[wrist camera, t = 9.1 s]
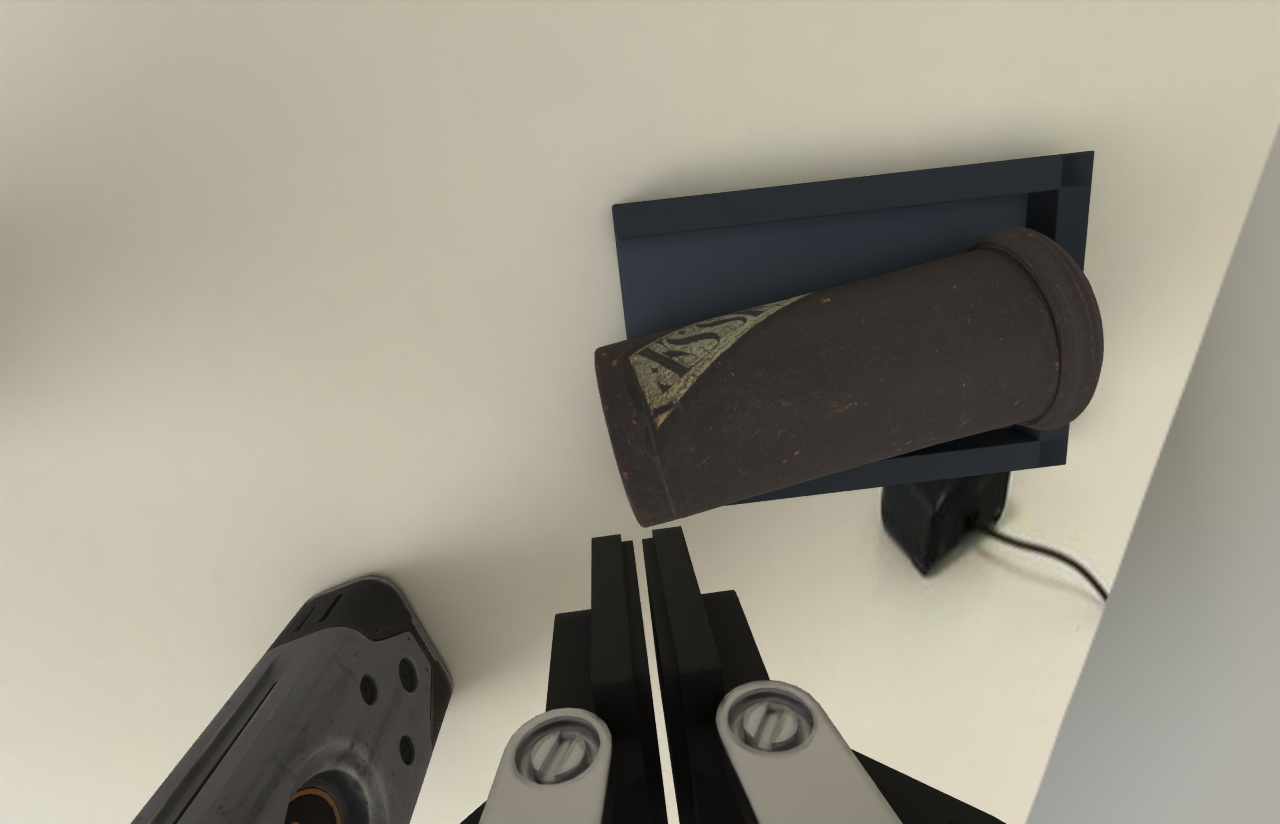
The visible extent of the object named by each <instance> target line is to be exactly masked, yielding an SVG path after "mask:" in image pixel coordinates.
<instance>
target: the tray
mask: <svg viewBox="0 0 1280 824" xmlns="http://www.w3.org/2000/svg"><path fill="white" fill-rule="evenodd" d="M1093 160H1094V151H1085V152H1076V153H1068V154H1059V155H1050V156H1041V157H1032V158H1023V159H1014V160H1005V161H997V162H988V163H979V164H970V165H961V166H952V167H943V168H934V169H926V170H917V171H908V172H899V173H890V174H881V175H872V176H863V177H855V178H846V179H837V180H828V181H819V182H810V183H801V184H792V185H784V186H775V187H766V188H757V189H748V190H739V191H730V192H721V193H713V194H704V195H695V196H686V197H677V198H668V199H659V200H650V201H642V202H633V203H624V204H615V205H613V206H612V212H613V221H614V230H615V238H616V247H617V256H618V264H619V273H620V282H621V290H622V299H623V308H624V316H625V325H626V334H627V340H630V339H633V338H637V337H641V336H645V335H649V334H653V333H656V332H660V331H664V330H667V329H672V328H676V327H680V326H684V325H687V324H691V323H695V322H700V321H704V320H707V319H711V318H715V317H719V316H722V315H726V314H729V313H734V312H738V311H742V310H745V309H750V308H754V307H758V306H762V305H766V304H770V303H774V302H778V301H782V300H785V299H789V298H793V297H797V296H800V295H804V294H808V293H812V292H816V291H819V290H824V289H827V288H832V287H837V286H841V285H844V284H848V283H852V282H855V281H859V280H864V279H868V278H872V277H876V276H879V275H883V274H887V273H890V272H894V271H898V270H902V269H906V268H909V267H913V266H917V265H920V264H923V263H927V262H931V261H935V260H939V259H943V258H946V257H951V256H955V255H959V254H962V253H966V252H967V250H969V249H970V248H971V247H972V246H974V245H975V244H976V243H977V242H978V241H979V240H980V239H981V238H982V237H984V236H985V235H987V234H989V233H991V232H993V231H995V230H998V229H1002V228H1010V227H1023V228H1028V229H1031V230H1034V231H1037V232H1039V233H1041V234H1043V235H1045V236H1047V237H1048V238H1050V239H1052V240H1053V241H1054V242H1055V243H1057V244H1058V245H1059V246H1060V247H1061V248H1062V249H1063V250H1065V251H1066V252H1067V253H1068V254H1069V255H1070V256H1071V257H1072V258H1073V259H1074V261H1075V262H1076V263H1077V264H1078V266H1079V267H1080V269H1081V270H1082V271H1083V270H1084V259H1085V248H1086V237H1087V226H1088V215H1089V204H1090V193H1091V182H1092V171H1093ZM1068 434H1069V423H1068V424H1066V425H1064V426H1062V427H1059V428H1056V429H1050V430H1037V429H1032V428H1029V427H1026V426H1020V425H1017V424H1013V425H1009V426H1005V427H1002V428H998V429H994V430H990V431H986V432H982V433H978V434H975V435H971V436H967V437H963V438H959V439H956V440H952V441H948V442H944V443H940V444H936V445H932V446H929V447H926V448H922V449H918V450H915V451H912V452H909V453H905V454H902V455H898V456H895V457H891V458H887V459H884V460H880V461H877V462H873V463H869V464H865V465H862V466H859V467H855V468H851V469H848V470H845V471H841V472H837V473H833V474H830V475H827V476H823V477H820V478H817V479H813V480H809V481H806V482H803V483H799V484H796V485H792V486H789V487H785V488H782V489H778V490H775V491H772V492H768V493H765V494H761V495H758V496H754V497H750V498H747V499H744V500H740V501H737V502H734V503H731V504H727V505H735V504H743V503H752V502H760V501H768V500H776V499H785V498H793V497H801V496H809V495H818V494H826V493H834V492H842V491H851V490H859V489H867V488H875V487H884V486H892V485H900V484H908V483H917V482H925V481H933V480H941V479H950V478H958V477H966V476H974V475H983V474H991V473H999V472H1007V471H1016V470H1024V469H1032V468H1040V467H1049V466H1057V465H1065V464H1066V456H1067V445H1068ZM727 505H724V506H727Z"/></svg>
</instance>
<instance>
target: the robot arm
mask: <svg viewBox="0 0 1280 824" xmlns="http://www.w3.org/2000/svg"><path fill="white" fill-rule="evenodd" d="M652 534H653V538H647V539H642V544H643V553H644V561H645V569H646V578H647V586H648V595H649V603H650V611H651V620H652V628H653V636H654V645H655V653H656V661H657V669H658V677H659V684H660V691H661V698H662V705H663V712H664V719H665V726H666V732H667V739H668V746H669V753H670V760H671V767H672V774H673V781H674V788H675V795H676V802H677V809H678V815H679V822H680V824H1006V823H1004V822H1002V821H1001V820H999V819H997V818H996V817H994V816H992V815H990V814H987V813H985V812H983V811H981V810H979V809H977V808H975V807H973V806H971V805H968V804H966V803H964V802H962V801H960V800H958V799H956V798H954V797H952V796H949V795H947V794H945V793H943V792H941V791H939V790H937V789H935V788H932V787H930V786H928V785H926V784H924V783H922V782H920V781H918V780H916V779H913V778H911V777H909V776H907V775H905V774H903V773H901V772H899V771H897V770H894V769H892V768H890V767H888V766H886V765H884V764H882V763H880V762H877V761H875V760H873V759H871V758H869V757H867V756H865V755H863V754H861V753H858V752H856V751H854V750H852V749H850V747H849V746H848V744H847V743H846V742H845V740H844V739H843V737H842V736H841V734H840V733H839V731H838V730H837V729H836V727H835V726H834V724H833V723H832V721H831V720H830V719H829V717H828V716H827V714H826V713H825V711H824V710H823V708H822V707H821V706H820V704H819V703H818V702H817V701H816V700H815V699H814V698H813V697H812V696H811V695H810V694H809V693H807V692H806V691H804V690H802V689H800V688H799V687H797V686H795V685H791V684H788V683H785V682H782V681H772V680H770V679H769V676H768V674H767V671H766V669H765V666H764V663H763V661H762V658H761V656H760V653H759V651H758V648H757V645H756V643H755V640H754V638H753V635H752V632H751V630H750V627H749V625H748V622H747V620H746V617H745V614H744V612H743V609H742V607H741V604H740V601H739V599H738V596H737V594H736V592H735V591H734V590H729V591H721V592H714V593H707V594H701V593H700V589H699V586H698V583H697V579H696V576H695V572H694V569H693V565H692V562H691V559H690V555H689V552H688V548H687V545H686V541H685V538H684V534H683V531H682V528H681V526H679V527H671V528H664V529H656V530H652ZM460 824H668V819H667V811H666V803H665V795H664V786H663V778H662V770H661V762H660V754H659V746H658V738H657V730H656V722H655V714H654V706H653V698H652V690H651V682H650V674H649V666H648V658H647V650H646V642H645V634H644V626H643V618H642V610H641V602H640V594H639V586H638V578H637V570H636V562H635V555H634V547H633V540H631V541H624V542H622V541H621V534H618V535H610V536H603V537H595V538H592V562H591V609H588V610H581V611H574V612H566V613H559V614H556V615H555V620H554V630H553V640H552V651H551V661H550V672H549V682H548V692H547V703H546V712H545V713H543V714H540V715H537V716H535V717H534V718H532V719H531V720H529V721H528V722H526V723H525V724H523V725H522V726H521V727H520V728H519V729H518V730H517V731H516V732H515V733H514V734H513V735H512V736H511V738H510V740H509V742H508V744H507V746H506V748H505V750H504V752H503V755H502V758H501V761H500V764H499V767H498V770H497V773H496V775H495V778H494V781H493V784H492V787H491V790H490V793H489V796H488V798H487V800H486V801H485V802H484V803H483V804H482V805H481V806H480V807H478V808H477V809H476V810H475V811H474V812H473V813H472V814H470V815H469V816H468V817H467V818H466V819H465V820H464V821H462V822H461V823H460Z"/></svg>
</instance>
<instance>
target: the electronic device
mask: <svg viewBox="0 0 1280 824" xmlns="http://www.w3.org/2000/svg"><path fill="white" fill-rule="evenodd" d="M452 690H453V684H452V680H451V678H450V675H449V673H448V671H447V670H446V668H445V666H444V665H443V663H442V661H441V659H440V658H439V656H438V654H437V653H436V651H435V649H434V647H433V646H432V644H431V642H430V641H429V639H428V637H427V635H426V634H425V632H424V630H423V629H422V627H421V625H420V623H419V622H418V620H417V618H416V617H415V615H414V613H413V611H412V610H411V608H410V606H409V605H408V603H407V601H406V600H405V598H404V596H403V595H402V593H401V592H400V590H399V589H398V588H397V587H396V586H395V585H394V584H393V583H391V582H390V581H388V580H386V579H384V578H381V577H375V576H368V577H362V578H359V579H356V580H353V581H351V582H348V583H346V584H343V585H340V586H338V587H335V588H333V589H330V590H328V591H325V592H322V593H320V594H318V595H315V596H313V597H312V598H310V599H309V600H308V601H306V602H305V604H304V605H303V606H302V607H301V609H300V610H299V611H298V612H297V614H296V615H295V616H294V617H293V619H292V620H291V621H290V623H289V624H288V625H287V626H286V628H285V629H284V630H283V631H282V633H281V634H280V635H279V636H278V638H277V639H276V640H275V641H274V643H273V644H272V645H271V647H270V648H269V649H268V650H267V652H266V653H265V654H264V656H263V657H262V658H261V659H260V660H259V662H258V663H257V664H256V666H255V667H254V668H253V669H252V671H251V672H250V673H249V674H248V676H247V677H246V678H245V679H244V681H243V682H242V683H241V685H240V686H239V687H238V688H237V690H236V691H235V692H234V693H233V695H232V696H231V697H230V698H229V700H228V701H227V702H226V704H225V705H224V706H223V707H222V709H221V710H220V711H219V712H218V714H217V715H216V716H215V717H214V719H213V720H212V721H211V723H210V724H209V725H208V726H207V728H206V729H205V730H204V731H203V733H202V734H201V735H200V736H199V738H198V739H197V740H196V742H195V743H194V744H193V745H192V747H191V748H190V749H189V750H188V752H187V753H186V754H185V755H184V757H183V758H182V759H181V761H180V762H179V763H178V764H177V766H176V767H175V768H174V769H173V771H172V772H171V773H170V774H169V776H168V777H167V778H166V780H165V781H164V782H163V783H162V785H161V786H160V787H159V788H158V790H157V791H156V792H155V793H154V795H153V796H152V797H151V799H150V800H149V801H148V802H147V804H146V805H145V806H144V807H143V809H142V810H141V811H140V812H139V814H138V815H137V816H136V818H135V819H134V820H133V821H132V823H131V824H409V823H410V820H411V817H412V814H413V811H414V808H415V805H416V802H417V799H418V796H419V793H420V790H421V787H422V784H423V781H424V777H425V774H426V771H427V768H428V765H429V762H430V759H431V756H432V752H433V749H434V746H435V743H436V740H437V737H438V734H439V731H440V728H441V725H442V722H443V719H444V716H445V713H446V710H447V707H448V704H449V701H450V698H451V694H452Z"/></svg>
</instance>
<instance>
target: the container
mask: <svg viewBox="0 0 1280 824" xmlns="http://www.w3.org/2000/svg"><path fill="white" fill-rule="evenodd" d="M1103 352H1104V339H1103V328H1102V320H1101V315H1100V311H1099V307H1098V304H1097V300H1096V298H1095V295H1094V293H1093V290H1092V287H1091V285H1090V283H1089V281H1088V279H1087V278H1086V276H1085V274H1084V273H1083V271H1082V270H1081V269H1080V267H1079V266H1078V264H1077V263H1076V262H1075V261H1074V259H1073V258H1072V257H1071V256H1070V255H1069V254H1068V253H1067V252H1066V251H1065V250H1063V249H1062V248H1061V247H1060V246H1059V245H1058V244H1057V243H1055V242H1054V241H1053V240H1052V239H1050V238H1048V237H1047V236H1045V235H1043V234H1041V233H1039V232H1037V231H1034V230H1031V229H1028V228H1023V227H1010V228H1002V229H998V230H995V231H993V232H991V233H989V234H987V235H985V236H984V237H982V238H981V239H980V240H979V241H978V242H977V243H976V244H975V245H974V246H972V247H971V248H970V249H969V250H967V252H966V253H962V254H959V255H955V256H951V257H946V258H943V259H939V260H935V261H931V262H927V263H923V264H920V265H917V266H913V267H909V268H906V269H902V270H898V271H894V272H890V273H887V274H883V275H879V276H876V277H872V278H868V279H864V280H859V281H855V282H852V283H848V284H844V285H841V286H837V287H832V288H827V289H824V290H819V291H816V292H812V293H808V294H804V295H800V296H797V297H793V298H789V299H785V300H782V301H778V302H774V303H770V304H766V305H762V306H758V307H754V308H750V309H745V310H742V311H738V312H734V313H729V314H726V315H722V316H719V317H715V318H711V319H707V320H704V321H700V322H695V323H691V324H687V325H684V326H680V327H676V328H672V329H667V330H664V331H660V332H656V333H653V334H649V335H645V336H641V337H637V338H633V339H630V340H625V341H621V342H618V343H615V344H610V345H607V346H603V347H600V348H598V349H596V351H595V353H594V354H595V357H594V358H595V370H596V377H597V382H598V388H599V393H600V398H601V402H602V407H603V412H604V416H605V420H606V424H607V428H608V432H609V436H610V440H611V444H612V448H613V451H614V455H615V459H616V462H617V466H618V469H619V472H620V475H621V479H622V482H623V485H624V488H625V491H626V495H627V497H628V500H629V502H630V505H631V508H632V510H633V513H634V515H635V517H636V519H637V521H638V523H639V524H640V525H641V526H642V527H650V526H654V525H658V524H661V523H665V522H669V521H673V520H676V519H680V518H684V517H688V516H691V515H694V514H697V513H701V512H704V511H707V510H711V509H714V508H718V507H721V506H724V505H727V504H731V503H734V502H737V501H740V500H744V499H747V498H750V497H754V496H758V495H761V494H765V493H768V492H772V491H775V490H778V489H782V488H785V487H789V486H792V485H796V484H799V483H803V482H806V481H809V480H813V479H817V478H820V477H823V476H827V475H830V474H833V473H837V472H841V471H845V470H848V469H851V468H855V467H859V466H862V465H865V464H869V463H873V462H877V461H880V460H884V459H887V458H891V457H895V456H898V455H902V454H905V453H909V452H912V451H915V450H918V449H922V448H926V447H929V446H932V445H936V444H940V443H944V442H948V441H952V440H956V439H959V438H963V437H967V436H971V435H975V434H978V433H982V432H986V431H990V430H994V429H998V428H1002V427H1005V426H1009V425H1013V424H1017V425H1020V426H1026V427H1029V428H1032V429H1037V430H1050V429H1056V428H1059V427H1062V426H1064V425H1066V424H1068V423H1070V422H1071V421H1073V420H1074V419H1076V418H1077V417H1078V416H1079V415H1080V414H1081V413H1082V412H1083V411H1084V409H1085V408H1086V407H1087V406H1088V404H1089V402H1090V400H1091V399H1092V397H1093V394H1094V392H1095V390H1096V386H1097V383H1098V380H1099V376H1100V371H1101V367H1102V361H1103Z"/></svg>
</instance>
